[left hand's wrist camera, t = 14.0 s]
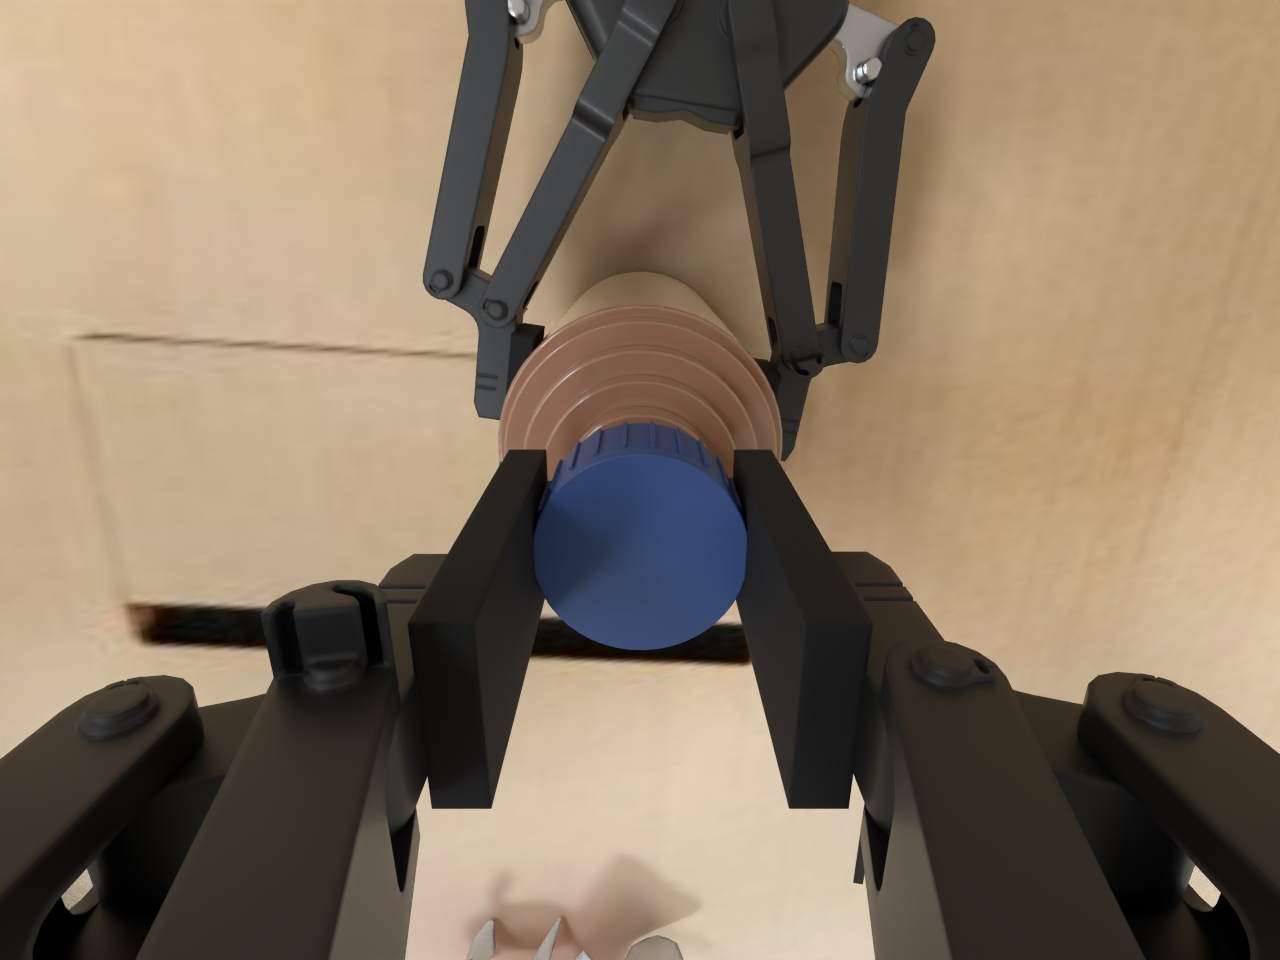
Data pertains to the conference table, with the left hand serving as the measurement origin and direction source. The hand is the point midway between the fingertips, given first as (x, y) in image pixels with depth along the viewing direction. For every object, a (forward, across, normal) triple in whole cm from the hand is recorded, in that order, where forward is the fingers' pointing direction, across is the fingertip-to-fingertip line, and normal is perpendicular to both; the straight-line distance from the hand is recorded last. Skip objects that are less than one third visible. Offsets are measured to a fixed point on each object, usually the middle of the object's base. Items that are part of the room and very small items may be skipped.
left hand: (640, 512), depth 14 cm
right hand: (+11, -1, -5) cm, 12 cm away
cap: (-2, 0, 0) cm, 2 cm away
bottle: (+17, 0, 0) cm, 17 cm away
